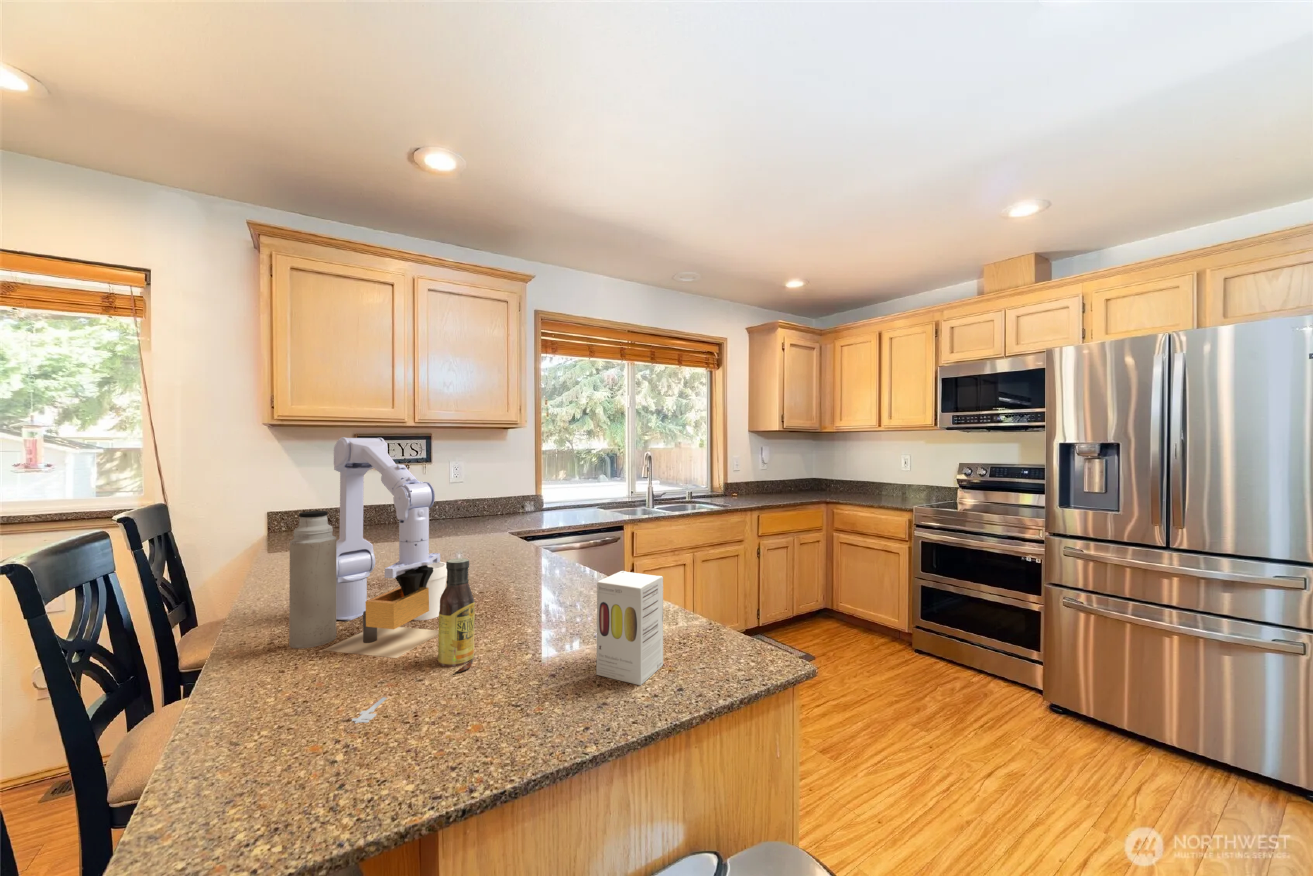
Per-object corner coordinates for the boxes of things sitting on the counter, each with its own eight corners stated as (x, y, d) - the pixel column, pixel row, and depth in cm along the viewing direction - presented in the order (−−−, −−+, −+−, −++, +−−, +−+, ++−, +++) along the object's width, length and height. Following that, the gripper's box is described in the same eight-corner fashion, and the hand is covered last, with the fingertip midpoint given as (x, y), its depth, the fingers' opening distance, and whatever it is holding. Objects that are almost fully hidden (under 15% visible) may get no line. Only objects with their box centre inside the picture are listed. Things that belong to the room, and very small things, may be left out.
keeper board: (322, 657, 98) (322, 619, 98) (377, 631, 112) (377, 598, 112) (396, 666, 94) (396, 625, 94) (444, 638, 108) (444, 603, 108)
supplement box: (594, 675, 90) (594, 581, 90) (620, 656, 98) (620, 569, 98) (642, 686, 86) (641, 587, 86) (664, 665, 94) (664, 574, 94)
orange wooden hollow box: (403, 608, 108) (402, 585, 108) (429, 611, 107) (428, 587, 106) (365, 626, 98) (365, 601, 98) (394, 629, 97) (393, 603, 97)
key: (411, 687, 87) (392, 686, 87) (410, 681, 87) (392, 680, 87) (366, 726, 75) (345, 726, 75) (366, 719, 75) (345, 719, 75)
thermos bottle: (310, 639, 107) (310, 508, 108) (345, 640, 107) (345, 509, 107) (279, 655, 100) (279, 513, 100) (316, 656, 99) (316, 514, 99)
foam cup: (456, 619, 120) (455, 564, 120) (419, 631, 112) (419, 573, 112) (431, 612, 125) (431, 560, 125) (395, 624, 117) (395, 567, 117)
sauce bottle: (461, 676, 90) (461, 565, 90) (430, 673, 91) (430, 564, 91) (481, 661, 96) (481, 557, 96) (452, 658, 97) (452, 556, 98)
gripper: (405, 547, 99) (405, 616, 99) (452, 534, 113) (451, 594, 113) (375, 545, 101) (375, 613, 100) (425, 533, 115) (424, 592, 115)
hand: (414, 603), depth 107 cm, fingers closed on orange wooden hollow box
